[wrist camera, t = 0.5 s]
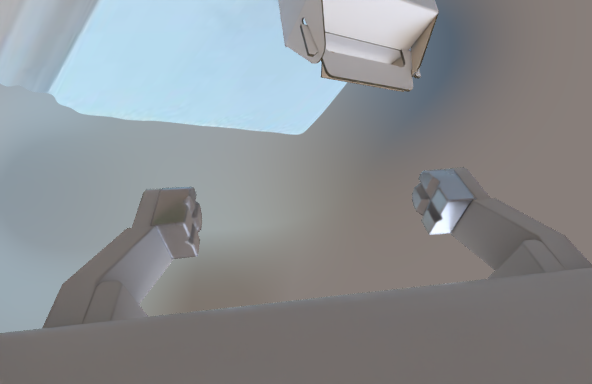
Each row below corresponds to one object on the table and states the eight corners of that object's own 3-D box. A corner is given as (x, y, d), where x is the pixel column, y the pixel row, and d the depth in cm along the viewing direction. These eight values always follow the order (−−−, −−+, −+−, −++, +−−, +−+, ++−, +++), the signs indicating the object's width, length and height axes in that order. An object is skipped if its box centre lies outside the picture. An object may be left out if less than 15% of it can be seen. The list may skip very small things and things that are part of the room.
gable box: (272, -30, 56) (291, 100, 47) (300, -116, 44) (331, 36, 36) (369, 1, 65) (399, 115, 56) (414, -64, 53) (459, 67, 45)
